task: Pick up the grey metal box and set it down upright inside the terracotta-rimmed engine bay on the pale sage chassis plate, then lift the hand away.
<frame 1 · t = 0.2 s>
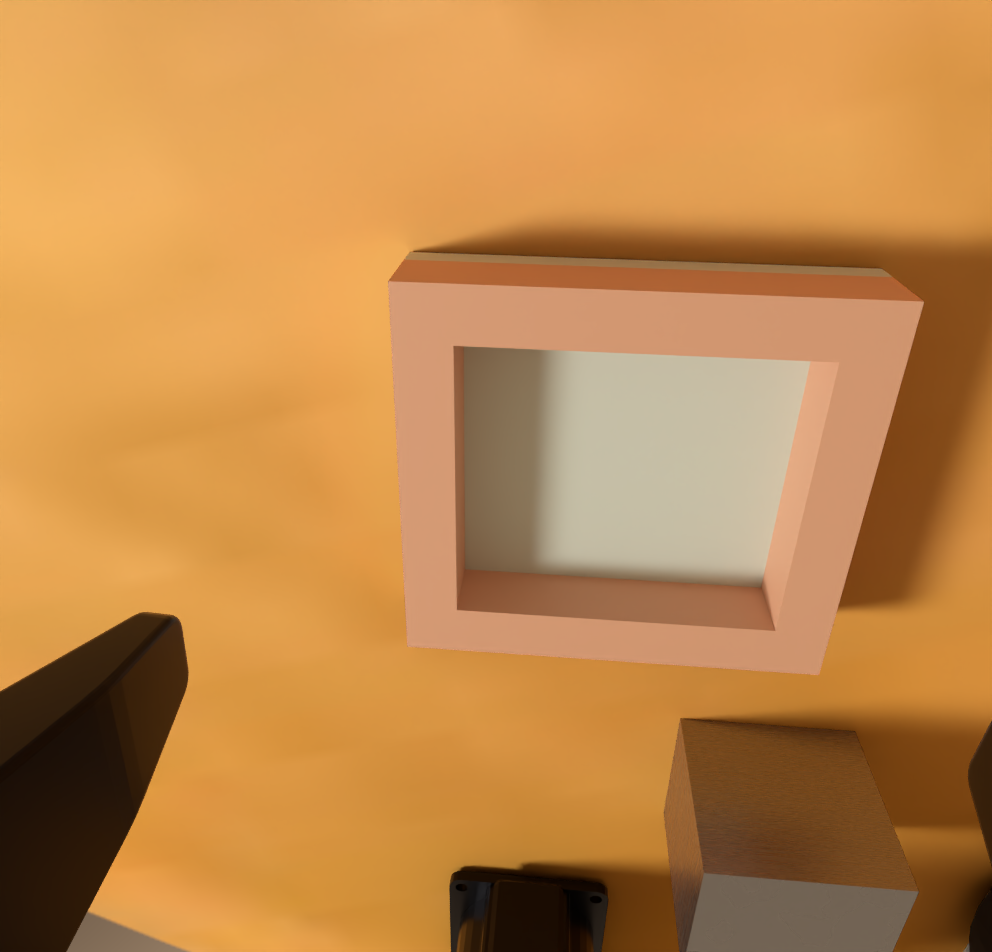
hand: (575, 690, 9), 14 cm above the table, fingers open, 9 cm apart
grey metal box: (754, 772, 29), on the table
chassis: (621, 450, 23), on the table
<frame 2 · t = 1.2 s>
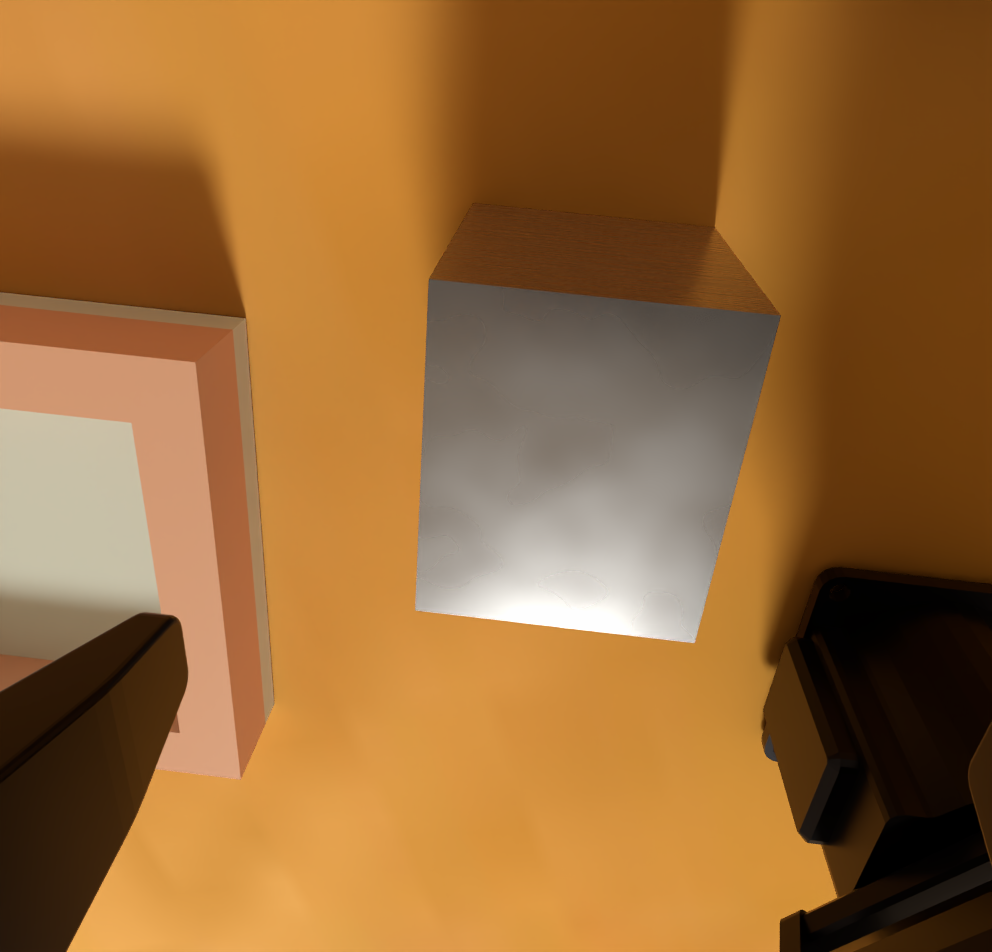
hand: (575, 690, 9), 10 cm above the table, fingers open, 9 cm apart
grey metal box: (574, 351, 18), on the table
chassis: (58, 514, 21), on the table
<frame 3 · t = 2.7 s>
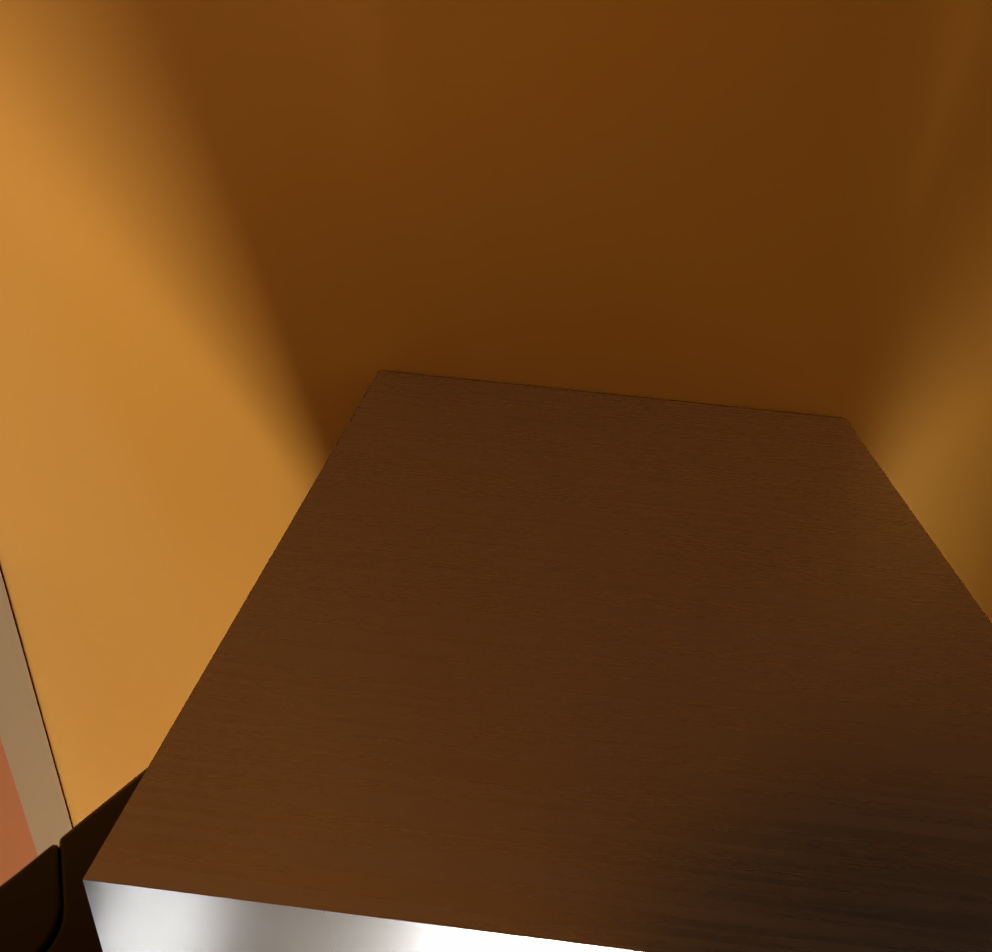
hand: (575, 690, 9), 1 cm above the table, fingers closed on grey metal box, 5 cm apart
grey metal box: (575, 614, 10), on the table, touching gripper
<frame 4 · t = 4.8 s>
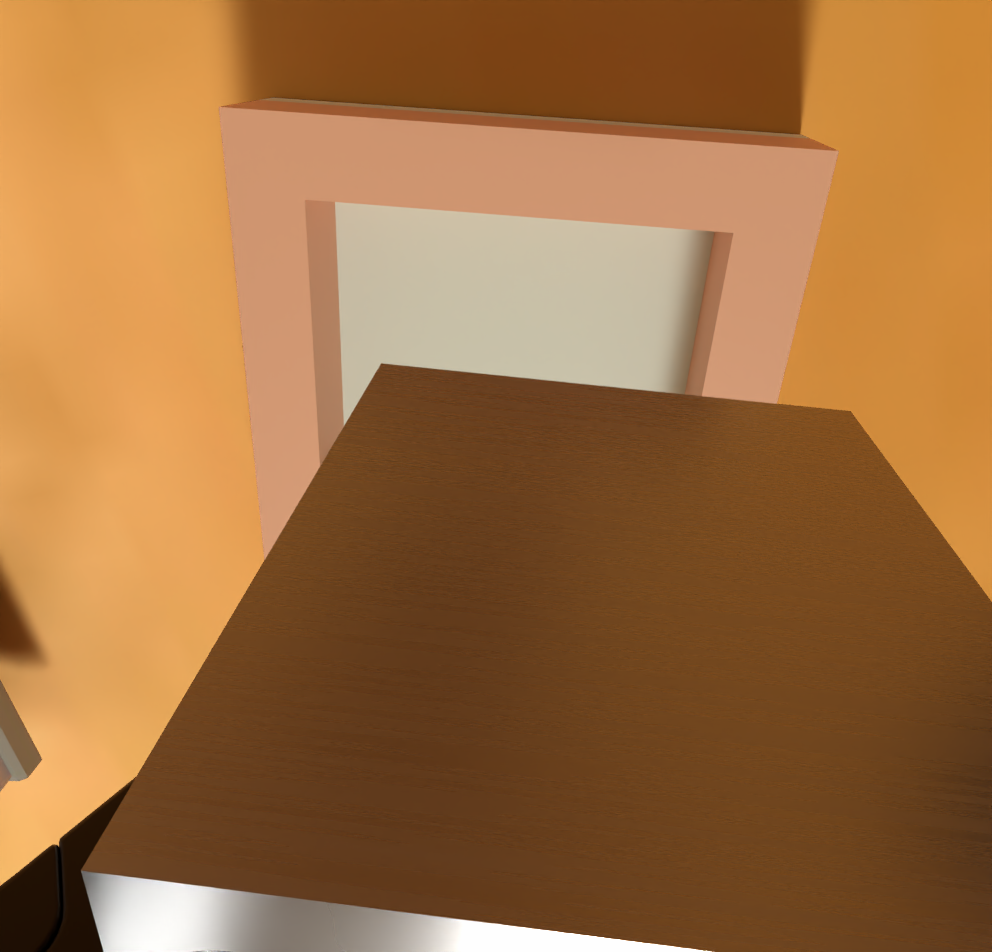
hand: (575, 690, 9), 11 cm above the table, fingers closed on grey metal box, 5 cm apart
grey metal box: (578, 609, 10), point 10 cm above the table, touching gripper
chassis: (512, 384, 19), on the table
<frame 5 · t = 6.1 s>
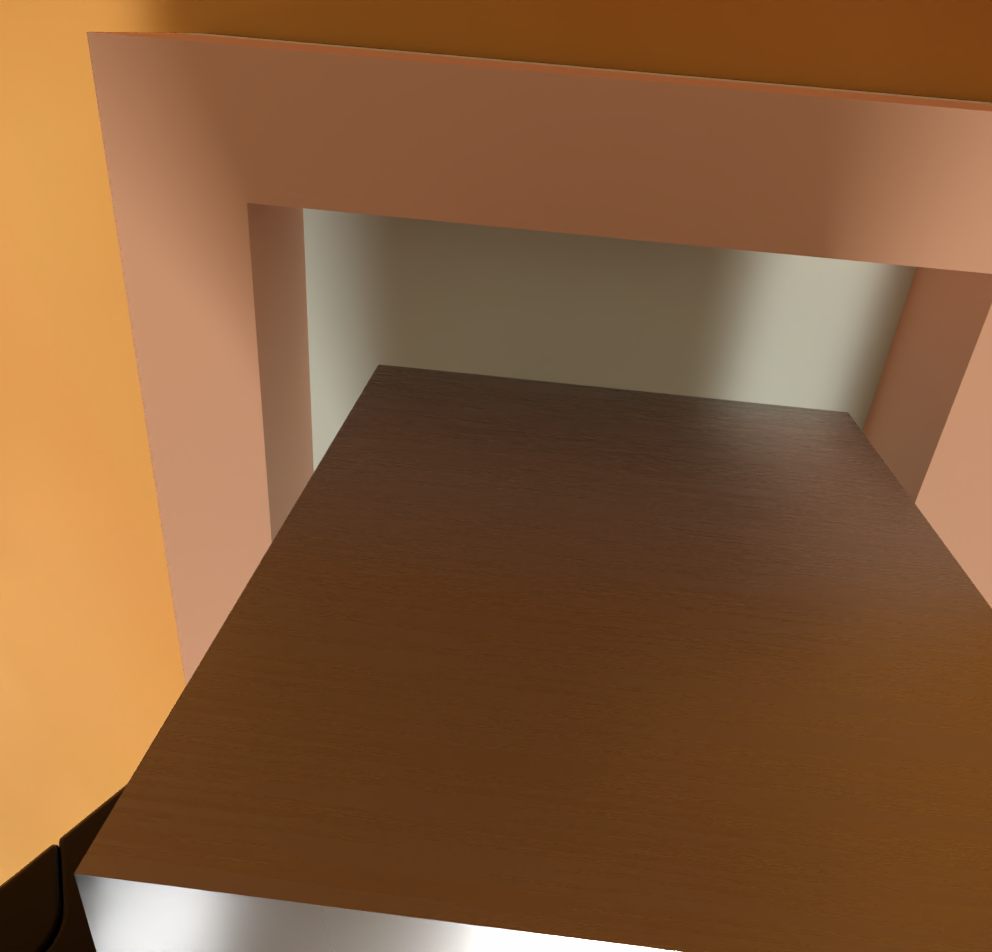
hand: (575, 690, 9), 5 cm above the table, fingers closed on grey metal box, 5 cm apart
grey metal box: (576, 610, 10), point 4 cm above the table, touching gripper
chassis: (568, 480, 13), on the table
when the fingers open (3 cm above the table, at t = 7.2 s): grey metal box drops 1 cm, resting on chassis.
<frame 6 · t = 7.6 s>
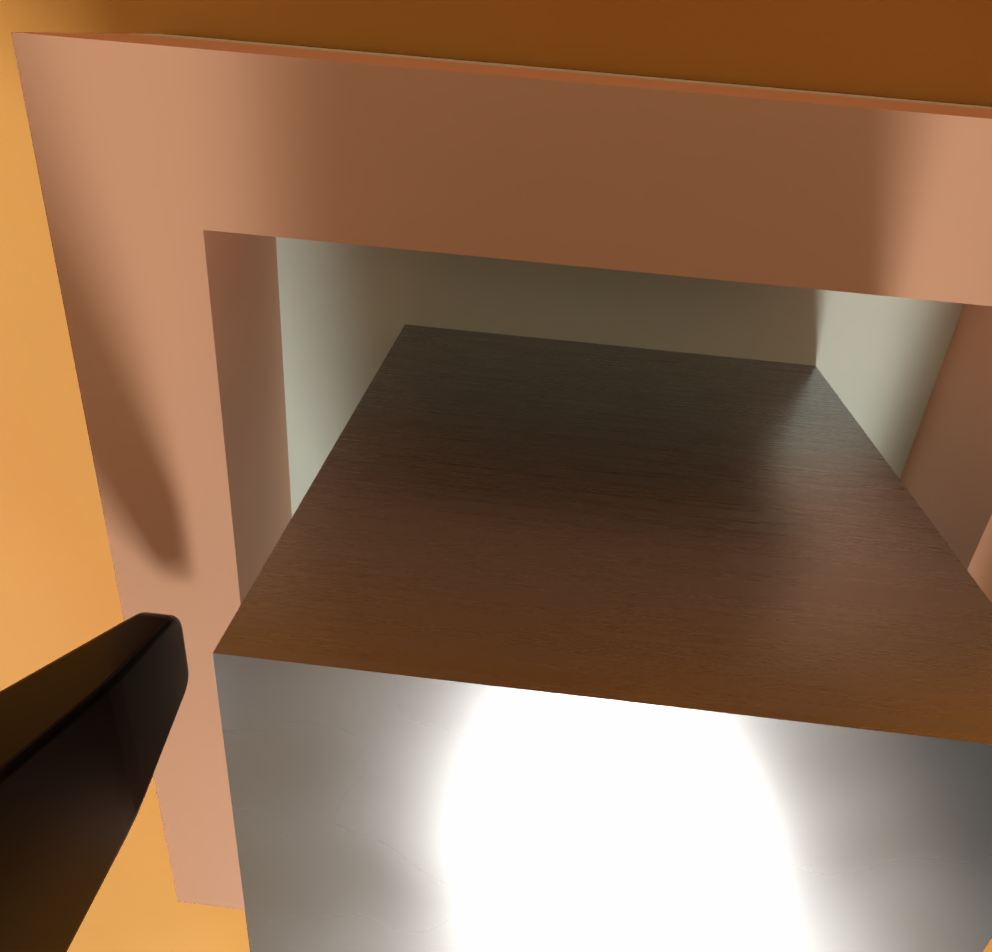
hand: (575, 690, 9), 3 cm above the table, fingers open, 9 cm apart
grey metal box: (577, 548, 11), point 1 cm above the table, touching chassis
chassis: (572, 523, 12), on the table
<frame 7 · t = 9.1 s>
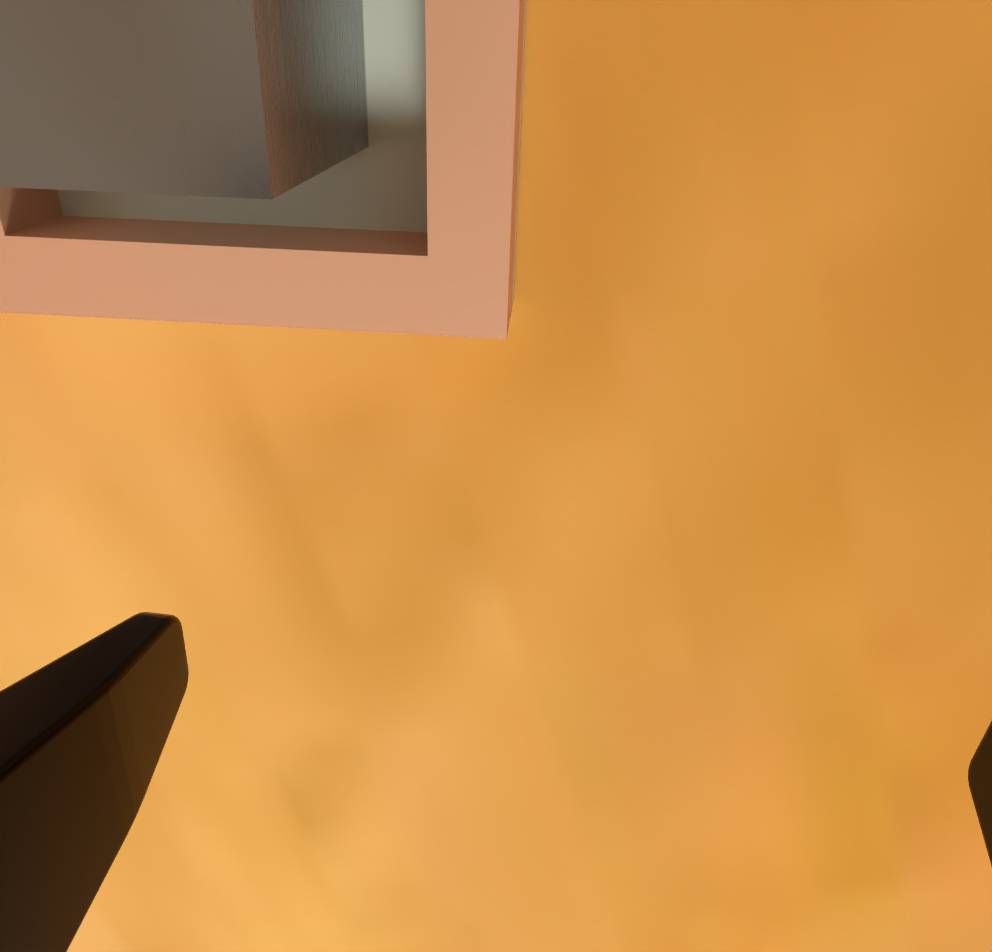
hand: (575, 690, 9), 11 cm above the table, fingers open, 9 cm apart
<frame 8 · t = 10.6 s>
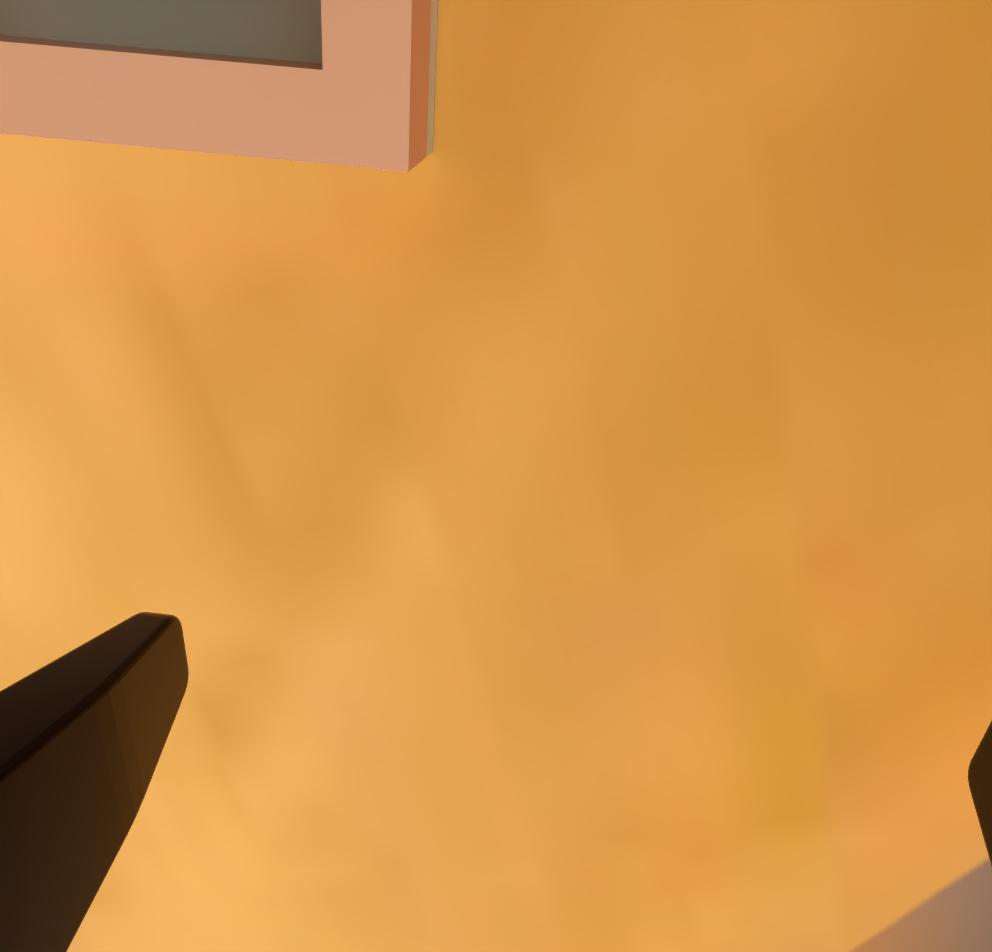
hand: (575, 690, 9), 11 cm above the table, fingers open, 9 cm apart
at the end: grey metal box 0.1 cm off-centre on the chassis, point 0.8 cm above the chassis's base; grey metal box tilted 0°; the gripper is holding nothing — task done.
